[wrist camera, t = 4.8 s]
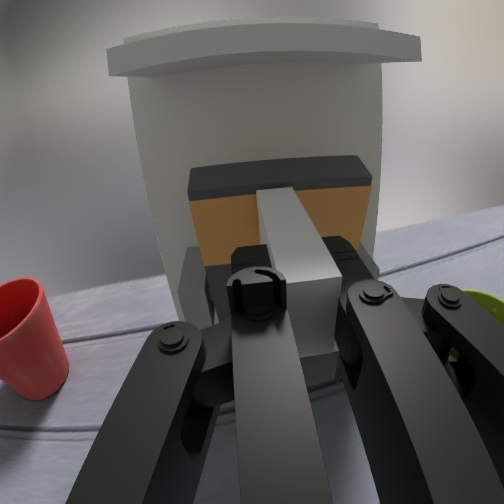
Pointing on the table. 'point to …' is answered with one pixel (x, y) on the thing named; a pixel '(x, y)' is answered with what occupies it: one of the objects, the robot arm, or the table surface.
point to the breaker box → (250, 115)
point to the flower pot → (29, 341)
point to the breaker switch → (246, 213)
